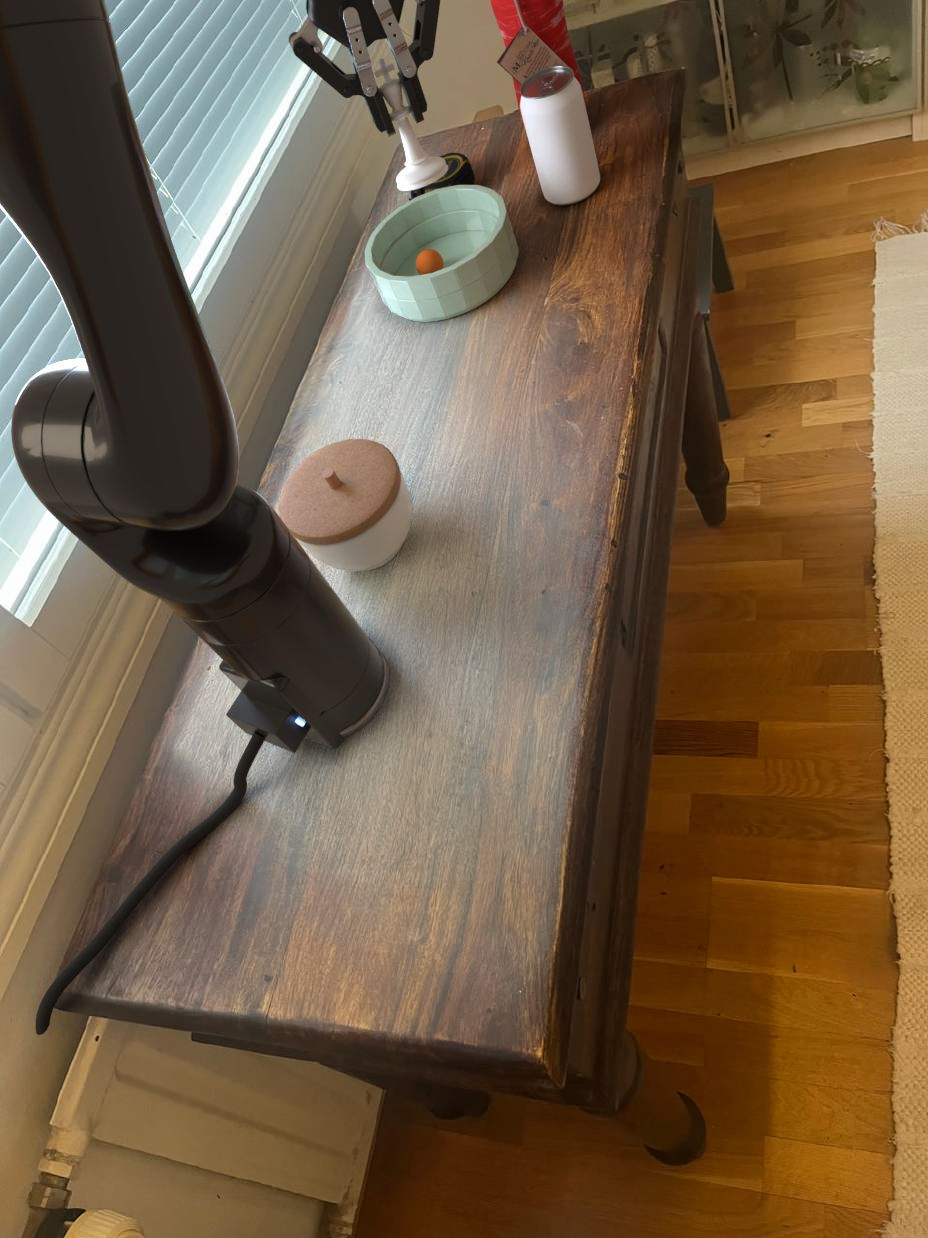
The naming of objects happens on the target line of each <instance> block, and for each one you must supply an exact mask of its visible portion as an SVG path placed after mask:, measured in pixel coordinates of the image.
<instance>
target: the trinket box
mask: <svg viewBox="0 0 928 1238" xmlns="http://www.w3.org/2000/svg"><path fill="white" fill-rule="evenodd" d="M411 497H412V496H411V494H410V490H409V488H408V485H407V481H406V480H405V477H404V475H403V473H402V472H401V469H400V465H399V462H398V461H397V459H396V457H395V456H394V454H393V452H392V451H391V450H390V449H389V448H388V447H387V446H385V445H384V444H383V443H381V442H377V441H375V440H371V439H367V438H350V439H349V438H348V439H344V440H340V441H336V442H332V443H331V444H328V445H326V446H324V447H322V448H320V449H317V450H316V451H314V452H313V453H311V454H310V455H309V456H307V457H306V458H304V460H302V461H301V462H300V463H299V464H298V465H296V467H295V468H294V469H293V470H292V472H291V473H290V474H289V476H288V477H287V479H286V480H285V482H284V484H283V486H282V489H281V491H280V494H279V499H278V507H277V508H278V515H279V517H280V518H281V519H282V521H283V522H284V523H285V525H286V526H287V527H288V529H289V530H290V531H291V533H292V534H293V535H294V537H295V538H296V539H297V541H298V542H299V544H300V545H301V546H302V548H303V549H304V551H305V552H306V553H309V554H310V555H311V556H312V557H313V558H314V559H316V560H317V561H318V562H320V563H322V564H323V565H325V566H327V567H330V568H332V569H335V570H340V571H345V572H359V571H360V572H361V571H362V572H365V571H372V570H375V569H378V568H380V567H382V566H384V565H386V564H388V563H389V562H390V561H391V560H393V559H394V558H395V557H396V556H397V554H398V553H399V552H400V550H401V549H402V547H403V545H404V543H405V541H406V540H407V537H408V535H409V532H410V529H411V525H412V522H413V521H412V520H413V504H412V499H411Z"/></svg>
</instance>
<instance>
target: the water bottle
mask: <svg viewBox="0 0 928 1238" xmlns="http://www.w3.org/2000/svg"><path fill="white" fill-rule="evenodd" d="M489 3H490V5H491V9H492V12H493V16H494V17H495V19H496V24H497V26H498V29H499V31H500V34H501V37H502V40H503V43H504V47H505V49H504V51H503V52H502V54H501V55H500V57H499V58H498V59H497V60H496V63H497V64H498V65H499V66H500V67H501V68H502V69H503V70H504V71H505V72H506V73H508V74H509V75H510V76H511V77H512V81H513V87H514V92H515V97H516V103H517V107H518V112H519V114H520V117H521V121H522V124H523V128H524V129H525V125H524V122H523V118H522V114H521V109H520V101H521V94H520V87H521V85H522V83H523V82H524V81H525V80H526V79H527V78H528V77H529V76H531V75H532V74H534V73H536V72H537V71H540V70H542V69H545V68H548V67H552V66H567V67H570V68H571V69H572V70H573V72H574V77H575V78H576V79H577V81H578V82H579V84H580V86H581V89H582V93H583V98H584V102H585V107H586V110H587V109H588V108H587V102H586V97H585V92H584V87H583V82H582V77H581V74H580V70H579V66H578V62H577V59H576V56H575V55H576V54H575V52H574V49H573V45H572V41H571V38H570V34H569V29H568V25H567V20H566V14H565V7H564V0H489Z"/></svg>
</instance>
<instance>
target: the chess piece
mask: <svg viewBox="0 0 928 1238" xmlns="http://www.w3.org/2000/svg"><path fill="white" fill-rule="evenodd" d="M377 62H378V65H379V68H378V69H376V70H373V74H374V77H375V79H376V78H380V77H382V76H383V78H384V81H383V83H381V85H380V86H378V88H379V90H380V91H381V93H382V96H383V98H384V101H386V103H387V104H388V106H389V107H390V108H391V109H392V110H391V112H389V115H390V118H391V120H392V122H395V121H396V122H397V126H398V130H399V134H400V139H401V143H402V146H403V149H404V155H405V159H406V160H405V162H404V166H405V167H404V168H402V169H401V170H400V171H399V173H398V174H397V175H396V177H395V182H396V184H397V185H396V186H397V187H396V188H397V189H398V190H399V191H402V192H411V190H415V189H419V188H422V187H425V186H427V185H429V184H431V183H433V182H435V181H437V180H438V179H440V178H441V177H442V176H443V175H444V174H445V173H446V172H447V170H448V165H447V164H446V161H445V159H444V158H442V157H440V156H430V154H429V153H428V152H425V151H424V150H423V148H422V146H421V144H420V142H419V140H418V137H417V136H416V134H415V131H414V129H413V127H412V125H411V122H410V121H409V119H408V116H409V115H410V114H411V111H412V110H411V109H410V107H409V106H408V105H404V104H403V103H404V102H403V99H404V98H403V89H402V84H401V80H400V79H399V78H391V76H390V72H392V71H394V70H396V68H395V66H394V63H393V62H391V63H389V64H387V65H386V62H385V59H384V58H383V57H382V58H380V59H378V60H377Z"/></svg>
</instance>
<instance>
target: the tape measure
mask: <svg viewBox="0 0 928 1238" xmlns="http://www.w3.org/2000/svg"><path fill="white" fill-rule="evenodd" d="M439 157H442V158H444V159H445V161H446V164H447V165H448V170H447V172H446V173H445V174H444V175H443V176H442V177H441V178H440V179H438V180H437V181H435V182H433V183H431V184H429V185H427V186H425V187H422V188H419V189H415V190H411V191H410V197H408V202H409V201H410V200H412V199H414V198H415V197H418V196H420V195H423V194H425V193H428V192H431V191H433V190H436V189H440V188H445V187H450V186H455V185H475V179H476V177H475V176H476V175H475V172H474V170H473V169H474V168H473V167H472V164H471V162H470V160H469V158H468V156H466V155H465V154H464V153H460V152H448V153H445V154H441V155H439Z"/></svg>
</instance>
